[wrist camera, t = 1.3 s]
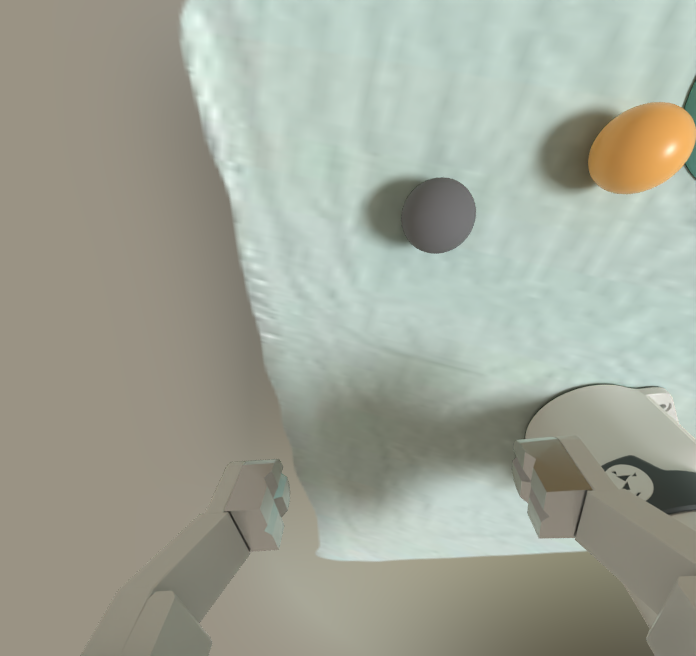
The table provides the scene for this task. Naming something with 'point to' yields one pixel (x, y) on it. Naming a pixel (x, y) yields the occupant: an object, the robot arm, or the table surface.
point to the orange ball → (642, 148)
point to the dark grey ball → (438, 215)
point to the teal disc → (695, 109)
